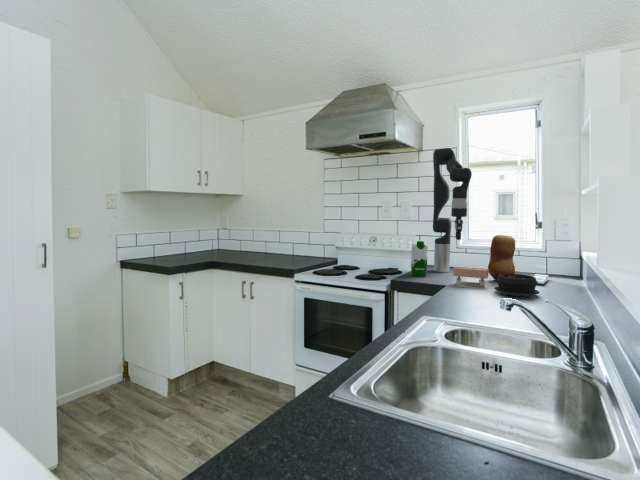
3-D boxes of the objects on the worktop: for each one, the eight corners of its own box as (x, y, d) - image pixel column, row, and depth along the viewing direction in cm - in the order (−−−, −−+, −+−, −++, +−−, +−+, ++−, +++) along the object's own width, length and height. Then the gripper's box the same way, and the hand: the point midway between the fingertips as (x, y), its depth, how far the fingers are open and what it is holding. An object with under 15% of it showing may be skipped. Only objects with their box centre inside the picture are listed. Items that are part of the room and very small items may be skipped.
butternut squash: (517, 284, 206) (519, 236, 204) (489, 282, 208) (492, 235, 206) (510, 279, 219) (512, 234, 217) (484, 278, 222) (486, 233, 220)
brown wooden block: (454, 274, 206) (455, 267, 206) (487, 277, 198) (488, 269, 198) (453, 275, 202) (453, 268, 202) (487, 278, 195) (487, 270, 195)
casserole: (493, 287, 196) (493, 270, 195) (535, 291, 189) (536, 273, 188) (494, 298, 172) (495, 279, 172) (543, 302, 166) (544, 282, 165)
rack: (456, 282, 208) (456, 274, 207) (483, 284, 203) (483, 275, 203) (456, 286, 198) (457, 277, 198) (484, 288, 194) (485, 279, 194)
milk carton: (412, 276, 225) (413, 241, 224) (410, 274, 234) (411, 240, 232) (427, 277, 224) (429, 242, 223) (425, 274, 233) (426, 240, 232)
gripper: (451, 207, 210) (450, 237, 212) (451, 207, 197) (450, 240, 198) (466, 207, 208) (465, 238, 210) (468, 207, 195) (466, 240, 196)
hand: (458, 238), depth 204 cm, fingers open, 8 cm apart
